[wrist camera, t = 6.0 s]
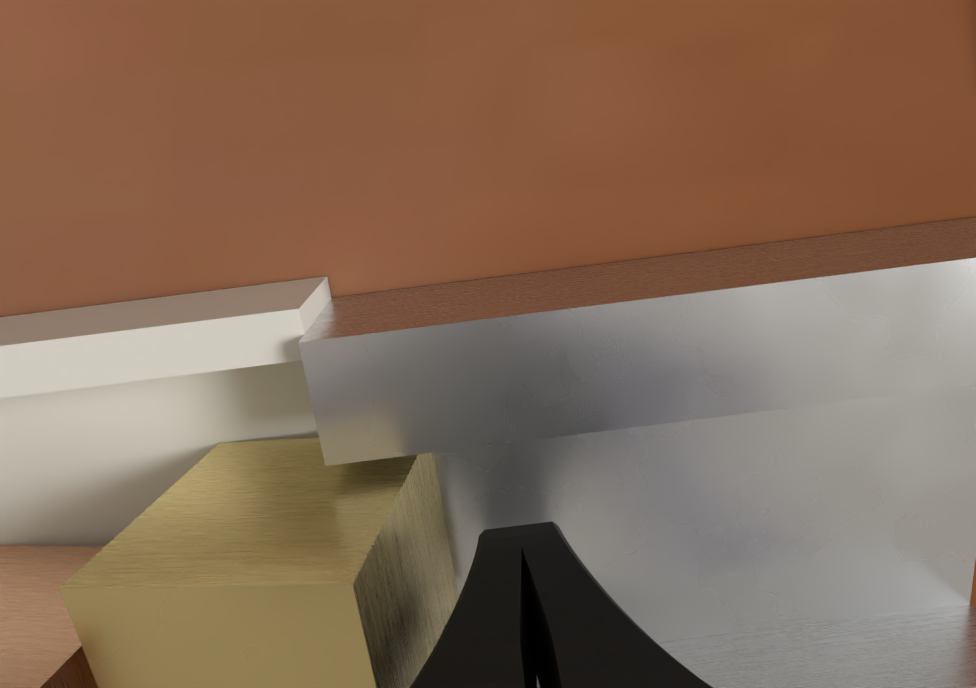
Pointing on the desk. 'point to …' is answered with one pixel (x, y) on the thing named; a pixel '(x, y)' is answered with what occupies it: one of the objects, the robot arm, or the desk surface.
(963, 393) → the aluminium channel
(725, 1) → the desk surface
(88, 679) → the copper cube
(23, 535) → the tray
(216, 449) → the brass cube
